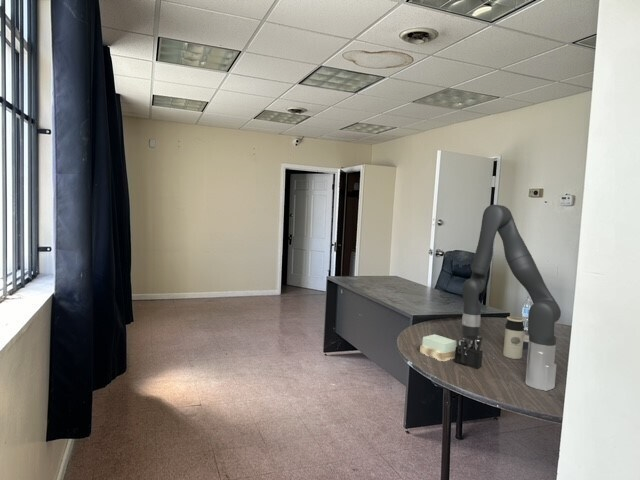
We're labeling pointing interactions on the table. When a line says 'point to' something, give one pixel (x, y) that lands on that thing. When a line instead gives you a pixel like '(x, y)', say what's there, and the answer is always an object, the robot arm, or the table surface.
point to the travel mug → (513, 338)
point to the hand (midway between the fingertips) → (468, 361)
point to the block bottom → (437, 353)
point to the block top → (439, 343)
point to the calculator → (525, 341)
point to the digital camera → (470, 358)
